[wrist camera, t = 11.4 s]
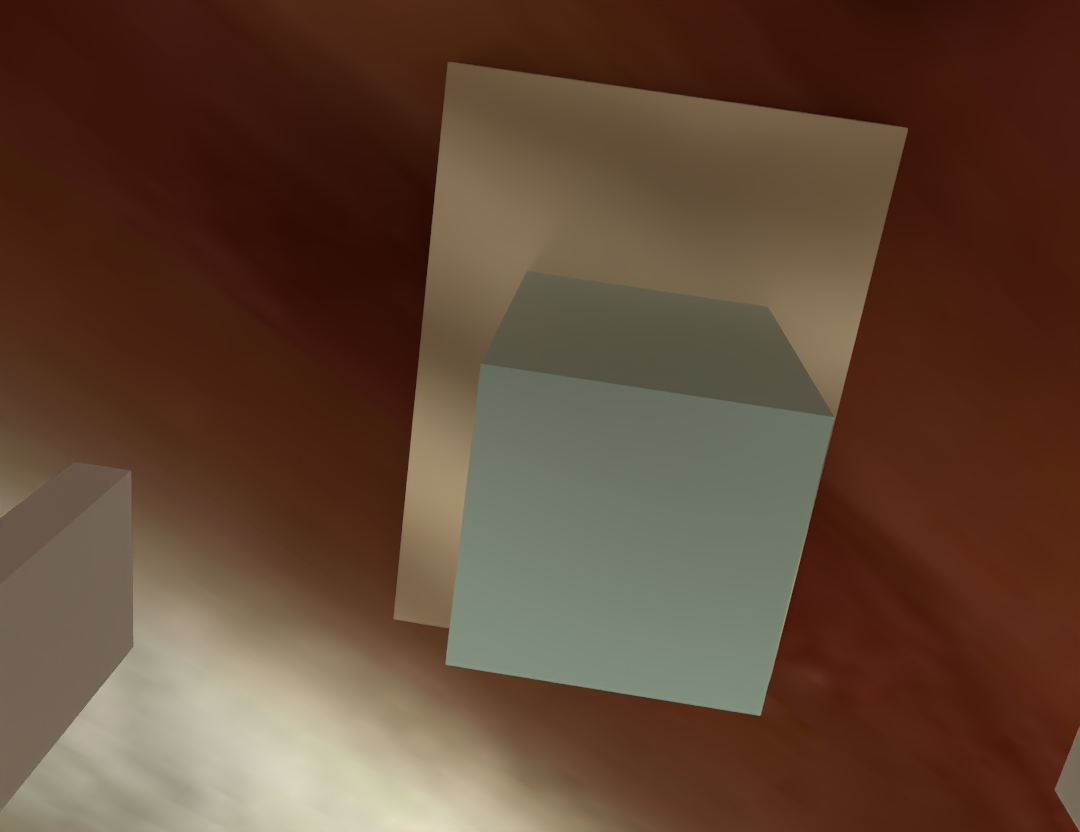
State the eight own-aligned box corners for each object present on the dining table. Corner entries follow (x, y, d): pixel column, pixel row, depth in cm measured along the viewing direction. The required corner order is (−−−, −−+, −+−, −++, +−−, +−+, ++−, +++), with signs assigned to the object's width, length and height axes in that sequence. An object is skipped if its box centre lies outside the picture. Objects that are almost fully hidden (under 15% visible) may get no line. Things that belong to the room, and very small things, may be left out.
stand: (456, 62, 23) (384, 58, 16) (893, 125, 22) (1010, 149, 16) (403, 596, 27) (329, 769, 21) (763, 655, 27) (809, 849, 20)
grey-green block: (497, 490, 25) (445, 664, 18) (526, 270, 23) (481, 363, 16) (720, 526, 25) (760, 716, 17) (768, 306, 23) (834, 417, 16)
